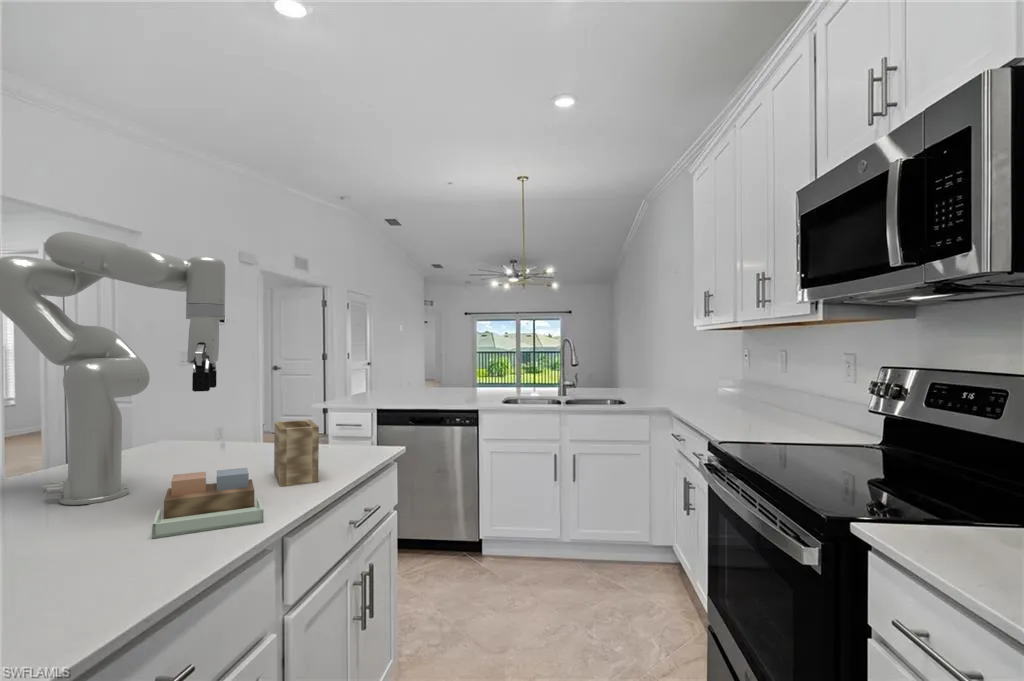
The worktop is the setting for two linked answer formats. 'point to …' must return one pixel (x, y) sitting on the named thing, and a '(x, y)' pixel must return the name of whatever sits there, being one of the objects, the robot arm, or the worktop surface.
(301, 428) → the utensil caddy
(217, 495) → the walnut board
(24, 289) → the robot arm
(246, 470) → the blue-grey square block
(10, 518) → the worktop surface
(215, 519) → the tray
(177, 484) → the terracotta tile
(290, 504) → the worktop surface
